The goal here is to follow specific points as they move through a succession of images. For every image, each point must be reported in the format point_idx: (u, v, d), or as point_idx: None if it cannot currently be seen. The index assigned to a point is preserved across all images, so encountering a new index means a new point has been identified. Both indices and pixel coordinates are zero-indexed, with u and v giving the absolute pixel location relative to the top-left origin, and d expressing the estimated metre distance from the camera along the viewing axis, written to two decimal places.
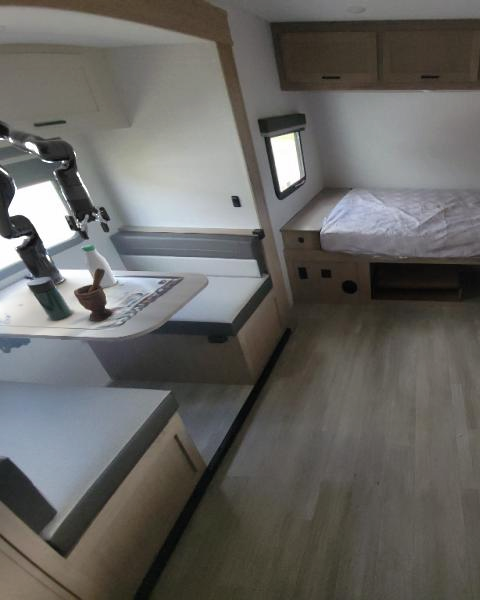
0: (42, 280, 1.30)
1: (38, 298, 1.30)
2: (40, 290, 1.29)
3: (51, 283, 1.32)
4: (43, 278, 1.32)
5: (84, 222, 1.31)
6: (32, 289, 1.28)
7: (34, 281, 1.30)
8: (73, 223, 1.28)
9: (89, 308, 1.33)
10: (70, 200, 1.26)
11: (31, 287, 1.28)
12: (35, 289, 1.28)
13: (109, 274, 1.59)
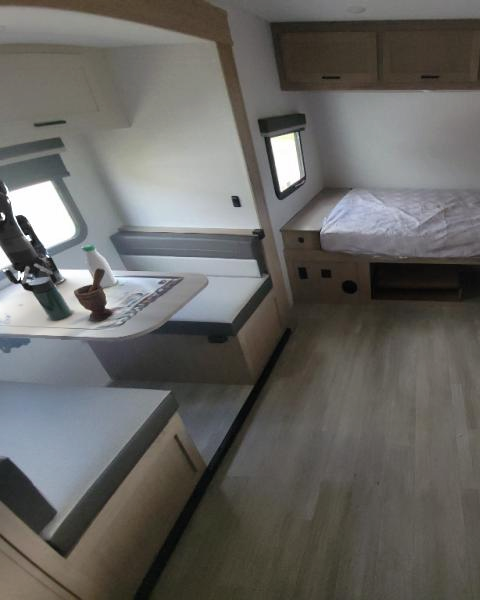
0: (42, 280, 1.30)
1: (38, 298, 1.30)
2: (40, 290, 1.29)
3: (51, 283, 1.32)
4: (43, 278, 1.32)
5: (24, 274, 1.24)
6: (32, 289, 1.28)
7: (34, 281, 1.30)
8: (11, 277, 1.22)
9: (89, 308, 1.33)
10: (7, 253, 1.20)
11: (31, 287, 1.28)
12: (35, 289, 1.28)
13: (109, 274, 1.59)
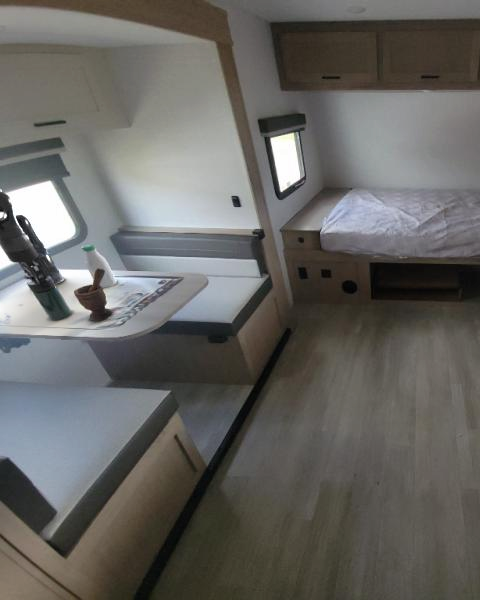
0: None
1: (38, 298, 1.30)
2: (54, 284, 1.33)
3: None
4: (33, 280, 1.30)
5: None
6: None
7: (36, 282, 1.29)
8: (42, 271, 1.26)
9: (89, 308, 1.33)
10: (26, 249, 1.22)
11: None
12: (51, 284, 1.31)
13: (109, 274, 1.59)
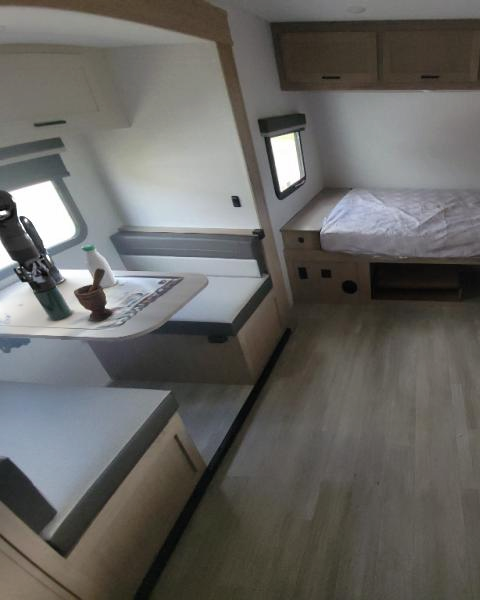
0: (36, 280, 1.29)
1: (38, 298, 1.30)
2: None
3: (30, 286, 1.28)
4: (40, 281, 1.29)
5: None
6: None
7: (44, 278, 1.31)
8: None
9: (89, 308, 1.33)
10: None
11: None
12: None
13: (109, 274, 1.59)
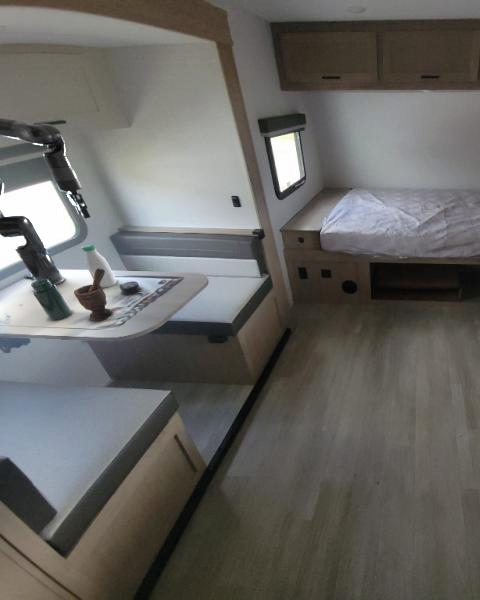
0: (127, 286, 1.54)
1: (38, 298, 1.30)
2: None
3: (124, 291, 1.53)
4: (132, 285, 1.54)
5: (70, 199, 1.44)
6: None
7: (130, 283, 1.56)
8: None
9: (89, 308, 1.33)
10: None
11: None
12: None
13: (109, 274, 1.59)
